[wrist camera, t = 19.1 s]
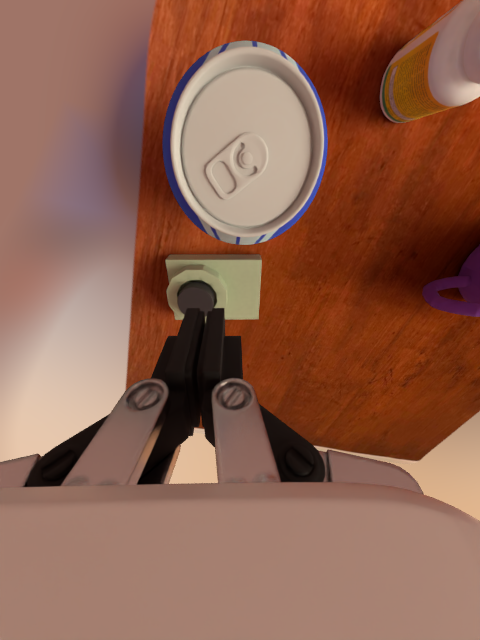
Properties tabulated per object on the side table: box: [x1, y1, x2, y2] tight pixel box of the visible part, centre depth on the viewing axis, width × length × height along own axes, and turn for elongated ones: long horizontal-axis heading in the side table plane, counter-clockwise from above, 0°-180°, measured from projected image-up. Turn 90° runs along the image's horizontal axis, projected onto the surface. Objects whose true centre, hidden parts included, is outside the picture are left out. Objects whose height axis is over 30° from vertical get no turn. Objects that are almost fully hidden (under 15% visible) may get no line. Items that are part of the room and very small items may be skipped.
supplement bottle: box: [380, 0, 480, 123], centre depth 16 cm, size 5×5×10 cm
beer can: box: [163, 41, 327, 245], centre depth 17 cm, size 8×8×16 cm
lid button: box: [177, 281, 215, 317], centre depth 26 cm, size 4×4×2 cm
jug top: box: [165, 254, 262, 323], centre depth 28 cm, size 11×8×4 cm
